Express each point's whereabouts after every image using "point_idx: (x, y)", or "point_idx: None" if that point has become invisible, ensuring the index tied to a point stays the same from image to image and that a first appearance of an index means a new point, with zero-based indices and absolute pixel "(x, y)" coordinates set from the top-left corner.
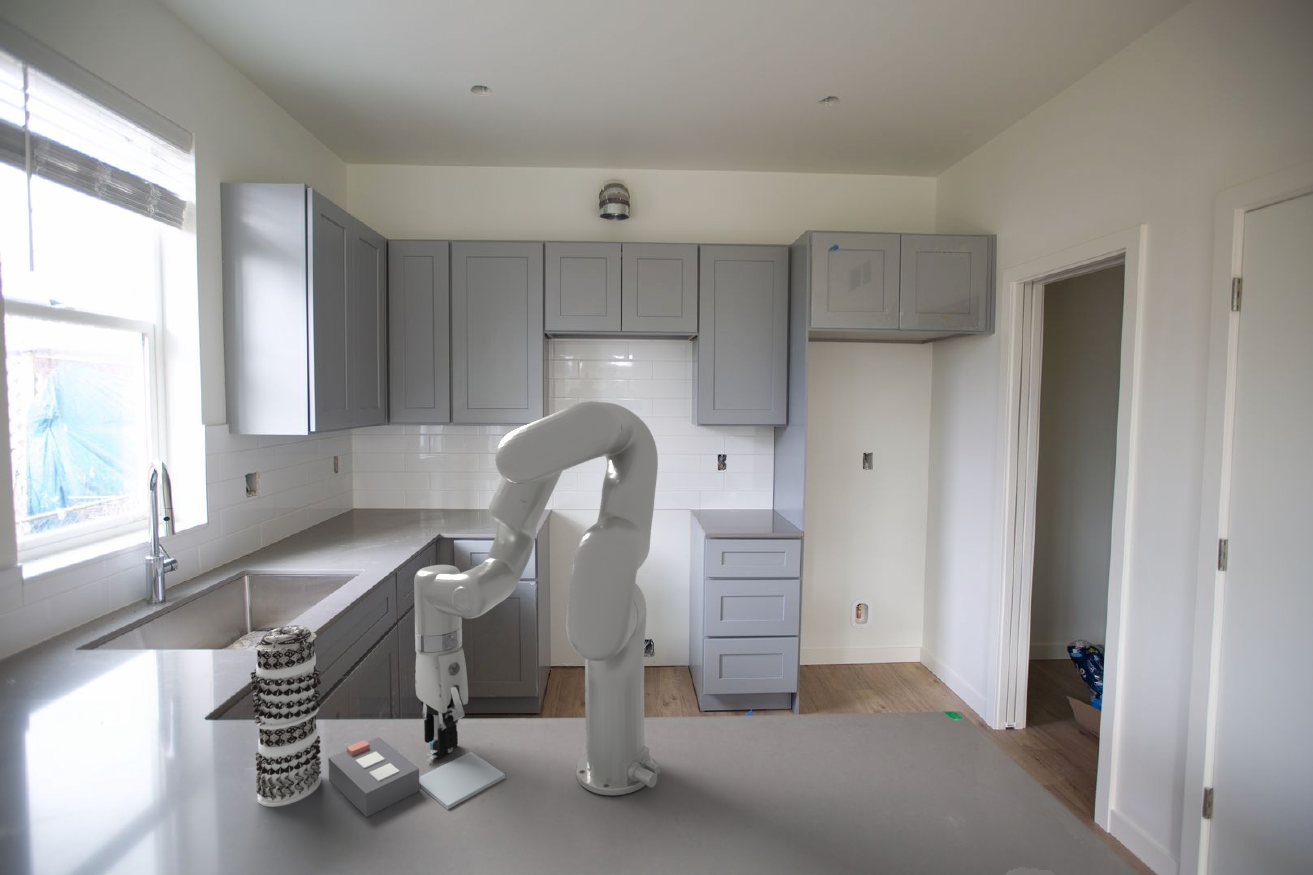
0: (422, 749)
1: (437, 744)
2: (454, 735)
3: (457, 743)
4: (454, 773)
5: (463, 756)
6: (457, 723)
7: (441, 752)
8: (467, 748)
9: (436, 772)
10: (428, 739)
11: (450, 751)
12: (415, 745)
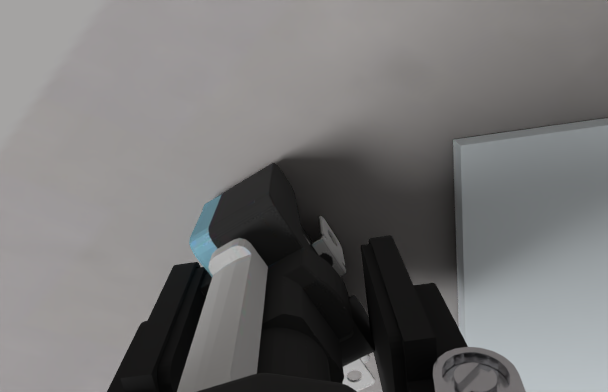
0: None
1: (351, 360)
2: (449, 311)
3: (277, 167)
4: (594, 307)
5: (474, 206)
6: (498, 356)
7: (363, 309)
8: (357, 124)
9: None
10: None
11: (330, 230)
12: (107, 343)
